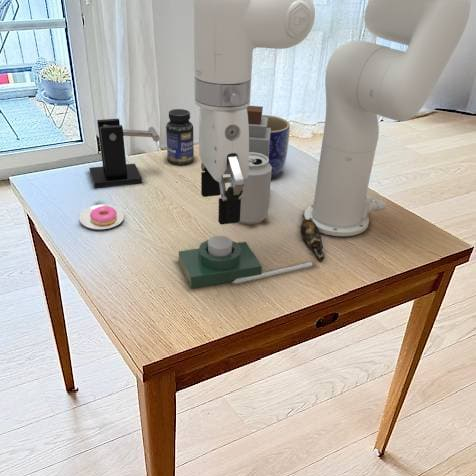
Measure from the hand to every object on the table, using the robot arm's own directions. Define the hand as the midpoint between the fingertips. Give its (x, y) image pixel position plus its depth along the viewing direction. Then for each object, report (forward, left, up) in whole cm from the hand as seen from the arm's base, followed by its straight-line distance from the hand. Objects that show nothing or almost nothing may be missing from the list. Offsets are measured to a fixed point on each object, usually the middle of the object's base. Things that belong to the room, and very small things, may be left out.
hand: (219, 208), depth 82 cm
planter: (-21, -35, -11) cm, 42 cm away
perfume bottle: (-14, -24, -11) cm, 30 cm away
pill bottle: (-5, -46, -11) cm, 48 cm away
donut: (+16, -23, -11) cm, 31 cm away
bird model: (-19, -4, -11) cm, 23 cm away
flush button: (0, 0, -8) cm, 8 cm away
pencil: (-8, +4, -12) cm, 15 cm away
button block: (0, 0, -11) cm, 11 cm away
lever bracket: (+11, -40, -11) cm, 43 cm away
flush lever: (+7, -40, -3) cm, 41 cm away
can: (-11, -16, -11) cm, 22 cm away
